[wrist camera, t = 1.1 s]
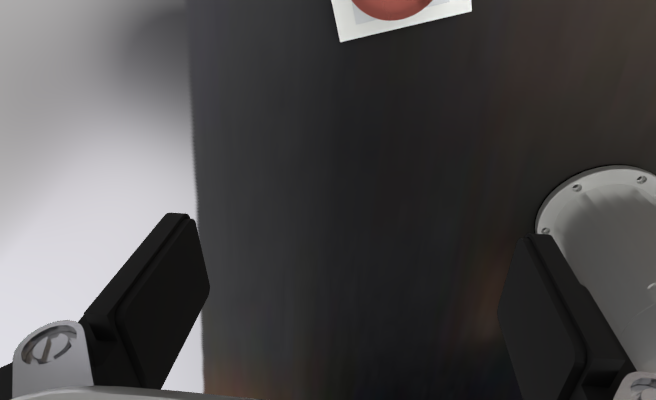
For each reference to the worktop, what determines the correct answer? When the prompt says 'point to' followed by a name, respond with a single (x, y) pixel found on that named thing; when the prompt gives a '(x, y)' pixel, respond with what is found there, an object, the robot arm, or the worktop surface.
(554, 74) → the worktop surface
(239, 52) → the worktop surface
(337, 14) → the housing
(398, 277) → the worktop surface
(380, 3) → the plunger
